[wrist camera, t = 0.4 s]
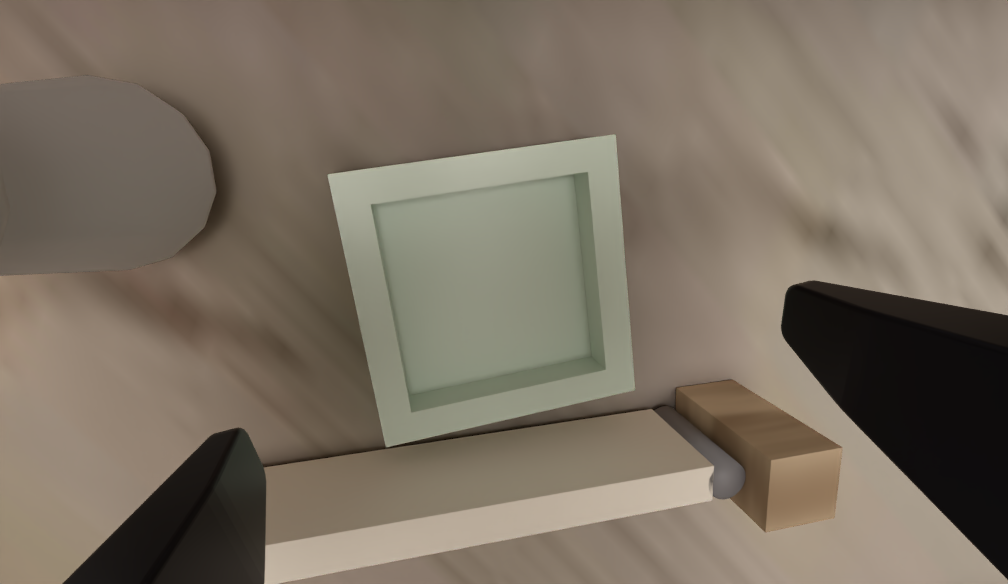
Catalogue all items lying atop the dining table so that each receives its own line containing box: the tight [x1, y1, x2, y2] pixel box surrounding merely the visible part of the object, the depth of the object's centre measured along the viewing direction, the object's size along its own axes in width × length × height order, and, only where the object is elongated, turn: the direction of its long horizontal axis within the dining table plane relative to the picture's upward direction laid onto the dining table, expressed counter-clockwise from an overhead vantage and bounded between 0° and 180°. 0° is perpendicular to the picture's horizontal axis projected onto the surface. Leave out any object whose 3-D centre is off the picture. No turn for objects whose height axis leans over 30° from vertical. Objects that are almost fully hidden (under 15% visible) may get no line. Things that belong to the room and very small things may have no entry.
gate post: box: [675, 380, 842, 532], centre depth 23 cm, size 3×3×7 cm
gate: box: [264, 406, 746, 584], centre depth 21 cm, size 2×20×5 cm, turn 93°
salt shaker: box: [0, 75, 217, 276], centre depth 13 cm, size 6×6×13 cm
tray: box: [327, 134, 635, 447], centre depth 21 cm, size 10×10×2 cm
